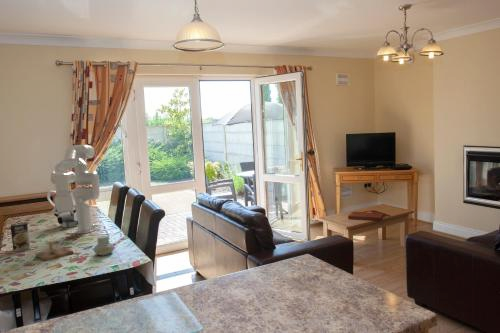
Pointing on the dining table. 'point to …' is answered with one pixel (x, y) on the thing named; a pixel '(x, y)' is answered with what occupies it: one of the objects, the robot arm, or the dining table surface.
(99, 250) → the air freshener
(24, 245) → the coffee box
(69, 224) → the open ended gray sleeve
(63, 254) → the board
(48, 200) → the pitcher
